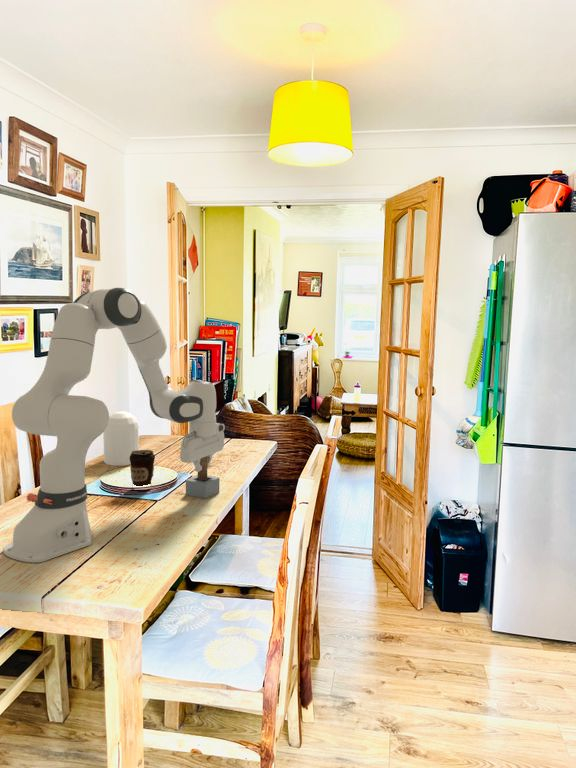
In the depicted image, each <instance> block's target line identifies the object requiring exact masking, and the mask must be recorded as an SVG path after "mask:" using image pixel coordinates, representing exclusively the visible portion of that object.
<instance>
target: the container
mask: <svg viewBox="0 0 576 768" xmlns="http://www.w3.org/2000/svg"><path fill="white" fill-rule="evenodd" d="M139 428H140V425H139V421H138V419H137V418H136V416H135V415H133V414H132V413H130V412H128V411H123V410H122V411H121V410H120V411H119V410H118V411H116V412H113V413H112V414H109V422H108V425H107V428H106V429H105V431H104V432H103V433H102V434H103V463H105V465H109V466H118V467H119V466H131V463H130V455H131V454H132V453H131V452H132V451H138V450H139V449H140V448H139V447H140V445H139V444H140V442H139V441H140V439H139V435H140V433H139Z"/></svg>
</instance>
